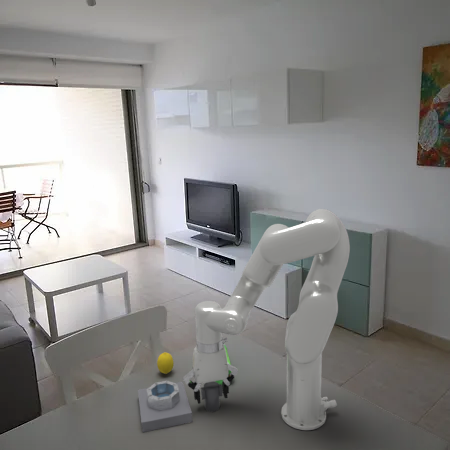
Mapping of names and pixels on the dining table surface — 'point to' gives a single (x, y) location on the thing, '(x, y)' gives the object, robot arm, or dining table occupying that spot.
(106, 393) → the dining table surface
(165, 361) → the lemon
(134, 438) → the dining table surface
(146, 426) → the plate with octagonal ring
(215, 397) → the dark grey domed knob
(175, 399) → the octagonal blue-lined ring
